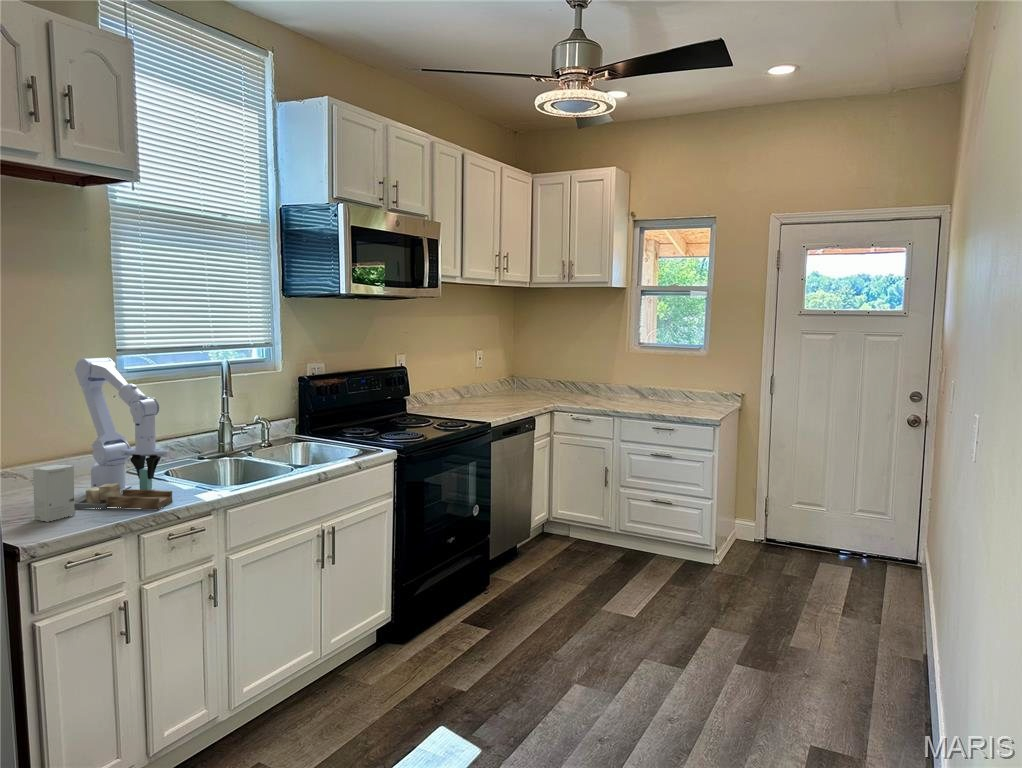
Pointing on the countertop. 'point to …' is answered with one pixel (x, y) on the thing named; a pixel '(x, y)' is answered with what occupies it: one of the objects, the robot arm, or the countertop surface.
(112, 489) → the block
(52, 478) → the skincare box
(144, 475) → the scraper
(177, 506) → the countertop surface
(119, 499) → the slot board
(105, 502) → the chip tray
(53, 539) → the countertop surface
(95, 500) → the block
